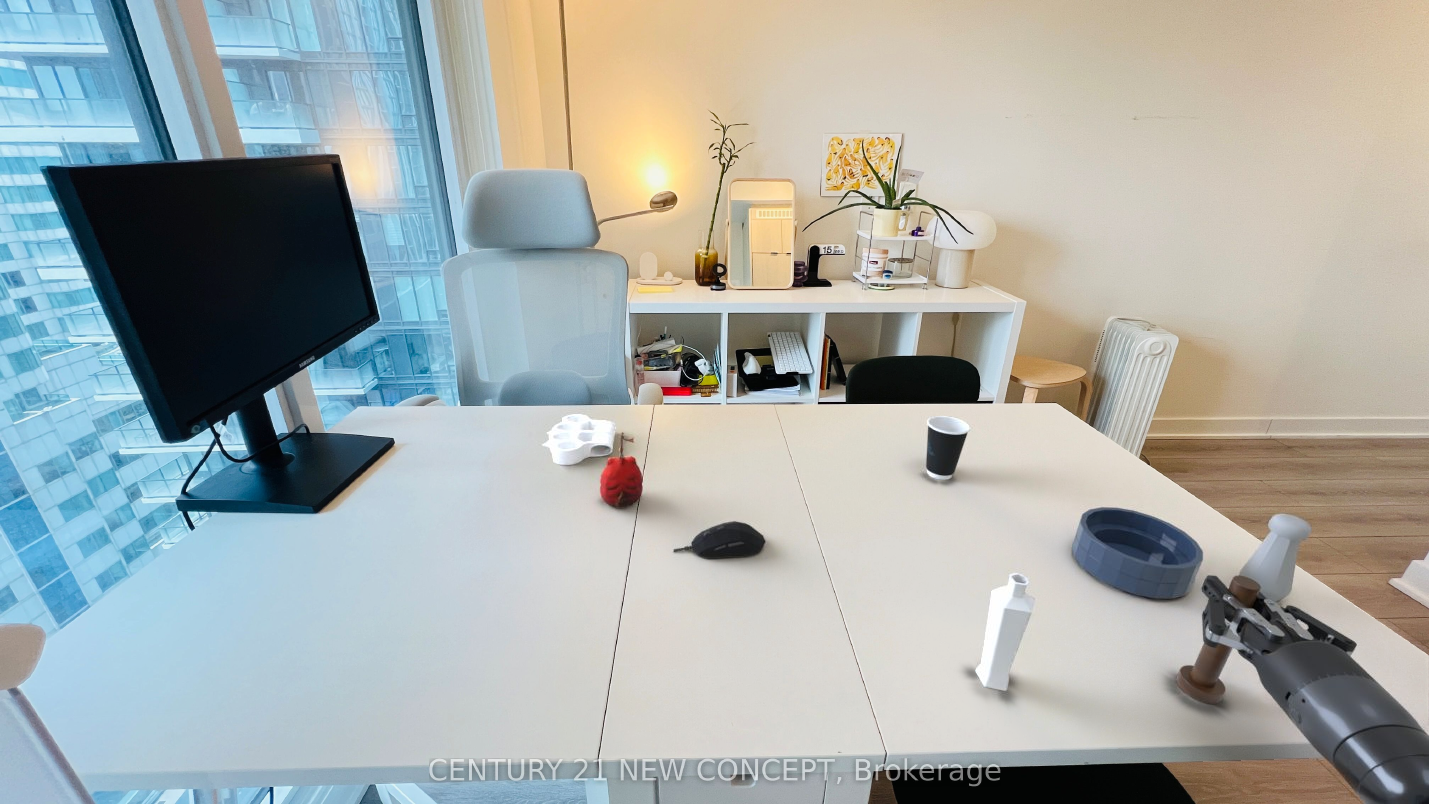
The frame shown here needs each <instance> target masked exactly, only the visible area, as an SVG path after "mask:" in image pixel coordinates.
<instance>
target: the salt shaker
mask: <svg viewBox="0 0 1429 804" xmlns="http://www.w3.org/2000/svg"><path fill="white" fill-rule="evenodd" d="M1267 527H1268V529H1269V530H1270V532H1269V533H1268V534H1267V536H1266V537H1265V538H1264V540H1262V542H1261V543H1260V545H1259V546H1258V547H1257V549H1256V550H1255V551H1254V552H1253V554H1252V555H1251V556H1250V558H1248V560H1247V562H1246V563H1244V565H1243V566H1242V567H1241V569H1240V570H1239V573H1238V576H1244V577H1248V578H1250V579H1252V580H1254V581H1256V582H1257V583H1259V584H1260V586H1261V589H1260V592H1261V593H1262V594H1263V595H1264V596H1265V597H1266V598H1267V599H1269V600H1272V601H1274V602H1276V603H1278V602H1280V601H1281V600H1282V599H1285V598H1286V597H1288V596H1289V595H1290V594H1291V592H1292V589H1293V584H1294V577H1295V570H1296V564H1297V558H1298V553H1299V548H1300V542H1303V541H1304V542H1305V541H1307V540H1308V539H1309V537H1310V535H1311V534H1312V533H1311V532H1312V529H1313V527H1311V525H1310V524H1309V522H1308V521H1306V520H1304V519H1303V518H1301V517H1298V516H1296V515H1292V514H1288V513H1277V514H1274V515H1273V516H1272V517H1271V518H1270V519H1269V521H1268V524H1267Z"/></svg>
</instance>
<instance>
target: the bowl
mask: <svg viewBox="0 0 1429 804" xmlns="http://www.w3.org/2000/svg"><path fill="white" fill-rule="evenodd" d="M1071 551H1072V554H1073V557H1074V559H1075V560H1076V561H1077V562H1078V563H1079V564H1080V566H1081V567H1082V568H1083V569H1084V570H1085V571H1087V572H1088V573H1089V574H1091V575H1092V576H1094V577H1095V578H1096V579H1098V580H1100V581H1102V582H1104V583H1106V584H1108V585H1110V586H1111V587H1113V588H1116V589H1119V590H1120V591H1121V590H1122V591H1124V592H1126V593H1130V594H1133V595H1137V596H1141V597H1147V598H1150V599H1169V600H1170V599H1176V598H1180V597H1183V596H1185V595H1186V594H1187V593H1189V592H1190V590H1191V589H1192V588H1193V585H1194V583H1195V580H1196V578H1197V575H1198V573H1199V571H1200V568H1201V566H1202V563H1203V561H1204V551H1203V549H1202V548H1201V545H1200V544H1199V543H1198V542H1197V541H1196V540H1195V539H1194V538H1193V537H1191V536H1190V535H1189V534H1188V533H1187V532H1186V531H1184V530H1182V529H1181V528H1179V527H1177V526H1175V524H1172V523H1170V522H1168V521H1165V520H1163V519H1161V518H1159V517H1156V516H1153V515H1150V514H1147V513H1144V512H1140V511H1137V510H1134V509H1127V508H1122V507H1110V506H1109V507H1108V506H1101V507H1100V506H1099V507H1095V508H1090V509H1088V510H1086V511H1084V512H1083V513H1082V514H1081V517H1080V520H1079V522H1078V526H1077V530H1076V532H1075V536H1074V540H1073V543H1072V545H1071Z"/></svg>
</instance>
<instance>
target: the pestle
mask: <svg viewBox="0 0 1429 804" xmlns="http://www.w3.org/2000/svg"><path fill="white" fill-rule="evenodd" d="M1227 588H1228V589H1229V590H1230V591H1231V592H1232V593H1233V594H1234V595H1235V596H1234V597H1235V598H1236V599H1237V600H1239V601H1240V602H1241V603H1242V604H1243V605H1244V606H1245V607H1246V608H1252V606H1253V604H1254V602H1255V600H1256V598H1257V596H1258V594H1259V592H1260V589H1261V586H1260V584H1259V583H1257V582H1256V581H1254V580H1252V579H1250V578H1248V577H1244V576H1239V575H1234V576H1233V577H1232V579H1231V581H1230V583H1229V586H1228V587H1227ZM1232 615H1233V616H1234V617H1235V611H1233V614H1232ZM1233 649H1234V648H1232V647H1229V646H1226V645H1224V644H1221V643H1219V645H1218V647H1217V648H1213V647H1210V646H1208V645H1206V644H1205V643H1204V642H1203V644H1202V646H1201V648H1200V650H1199V653H1198V655H1197V658H1196V660H1195V662H1194V664H1193V665H1192V664H1187V665H1186V664H1185V665H1183V666H1181V667H1180V668H1179V671H1178V673H1177V676H1176V679H1175V681H1176V683H1177V686H1178V687H1179V688H1180V689H1181V690H1182V691H1183V693H1185V694H1186V695H1188V696H1189V697H1191V698H1192V699H1194V700H1196V701H1199V702H1200V703H1204V704H1210V705H1217V704H1218V703H1220V702H1221V701H1222V699H1223V697H1224V695H1225V693H1226V690H1227V689H1226V686H1225V683H1224V682H1223V681H1222V680H1221V679H1220V676H1221V674H1222V673H1223V670H1224V667H1225V665H1226V663H1227V661H1228V659H1229V657H1230V655H1231V653H1232V650H1233Z"/></svg>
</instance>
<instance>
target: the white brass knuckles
mask: <svg viewBox="0 0 1429 804" xmlns="http://www.w3.org/2000/svg"><path fill="white" fill-rule="evenodd" d="M561 420H562V421H560V422H559V423H557V424H555V425H554V426H553V427H552V428H551V430H550V431H547V434H548V439H549V440H547V442H545V443H543V444H542V446H543V447H546V448H549V449H550V453H551V454H552V461H553V463H555V464H557V465H559V466H573V465H576V464H577V465H578V464H579V463H581V462H582V461H583V460H584V459H587V458H596V457H597V458H598V457H604V456H607V455H610V454H611V453H613V446H614V441H615V436H616V430H617V424H616V423H615V422H613V421H610V420H604V419H591V418H590V417H589V416H587V415H585V414H581V413H579V414H578V413H575V414H569V415H566V416H563V417H562V419H561Z"/></svg>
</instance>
